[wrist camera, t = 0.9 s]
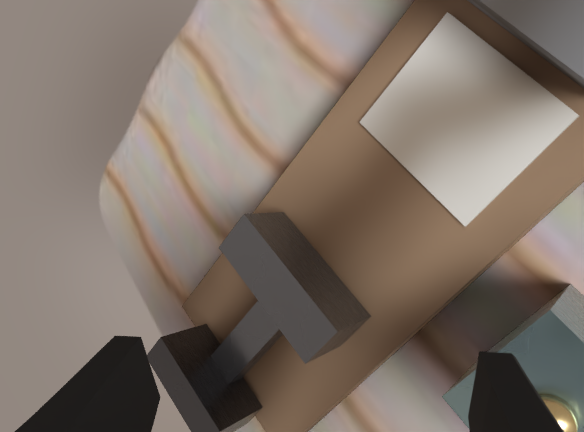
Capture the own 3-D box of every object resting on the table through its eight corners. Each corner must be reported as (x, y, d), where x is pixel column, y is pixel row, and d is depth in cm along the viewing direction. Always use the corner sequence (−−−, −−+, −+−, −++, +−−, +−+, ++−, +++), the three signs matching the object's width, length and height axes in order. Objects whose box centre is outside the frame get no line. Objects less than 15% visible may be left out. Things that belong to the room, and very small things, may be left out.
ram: (371, 316, 21) (334, 332, 18) (252, 433, 25) (208, 460, 22) (283, 211, 23) (240, 214, 21) (186, 333, 27) (140, 348, 24)
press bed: (740, 39, 16) (770, -8, 12) (297, 440, 26) (239, 482, 22) (515, -101, 19) (485, -173, 15) (201, 301, 29) (136, 317, 25)
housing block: (677, 384, 17) (690, 456, 12) (571, 452, 19) (547, 537, 14) (570, 283, 19) (546, 314, 14) (482, 355, 20) (435, 403, 16)
